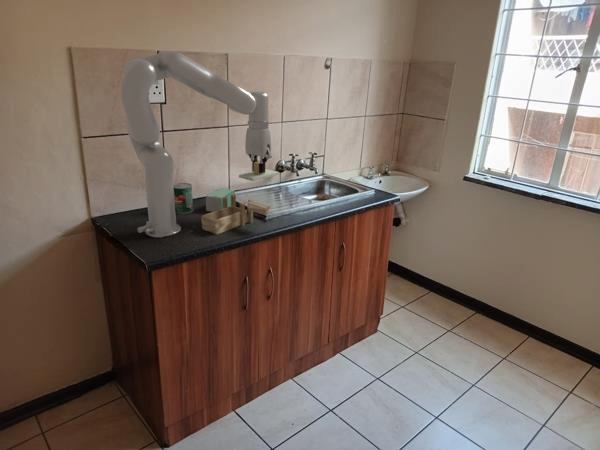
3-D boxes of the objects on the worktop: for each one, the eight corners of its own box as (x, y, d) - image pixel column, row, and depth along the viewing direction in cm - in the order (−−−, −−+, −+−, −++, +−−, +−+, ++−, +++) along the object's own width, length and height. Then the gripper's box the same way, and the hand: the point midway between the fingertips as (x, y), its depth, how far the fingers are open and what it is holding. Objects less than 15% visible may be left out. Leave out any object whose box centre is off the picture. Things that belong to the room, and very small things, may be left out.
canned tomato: (195, 207, 192) (194, 183, 188) (190, 214, 185) (189, 188, 181) (176, 207, 192) (175, 182, 188) (171, 213, 185) (169, 187, 181)
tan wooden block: (265, 215, 165) (265, 207, 164) (247, 209, 170) (247, 202, 169) (270, 213, 167) (270, 206, 166) (251, 208, 172) (251, 200, 171)
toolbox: (219, 237, 163) (218, 211, 159) (199, 229, 169) (198, 204, 165) (253, 224, 177) (252, 200, 173) (233, 217, 182) (233, 194, 179)
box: (235, 205, 197) (235, 189, 195) (221, 215, 185) (221, 198, 183) (220, 203, 199) (219, 187, 197) (205, 213, 187) (204, 196, 184)
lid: (253, 181, 171) (253, 167, 169) (238, 177, 175) (238, 163, 173) (279, 174, 183) (279, 161, 181) (265, 171, 187) (265, 158, 185)
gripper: (236, 123, 173) (237, 170, 180) (268, 129, 164) (267, 177, 171) (249, 121, 179) (250, 166, 186) (281, 126, 170) (280, 173, 177)
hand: (258, 171), depth 178 cm, fingers closed on lid, 2 cm apart
